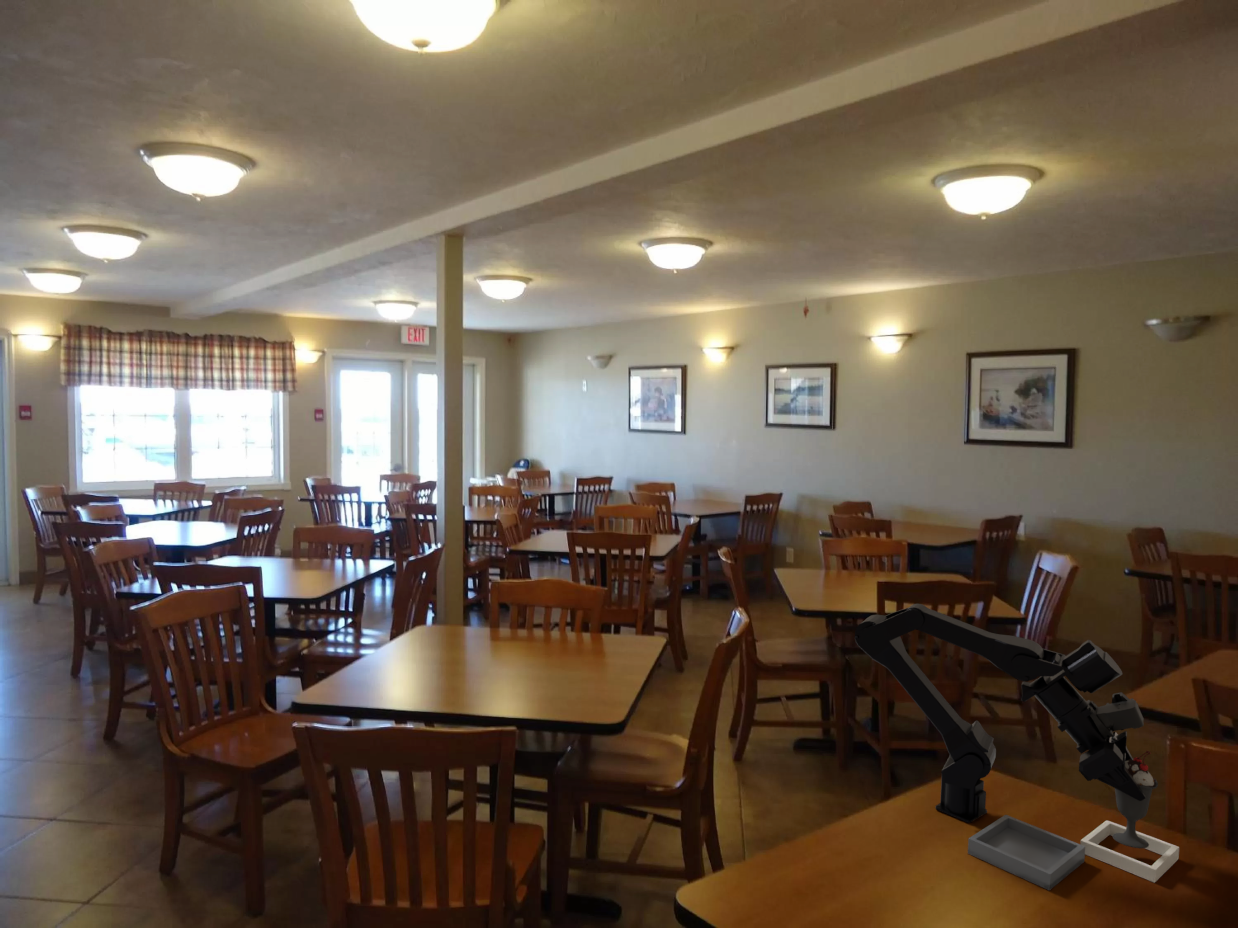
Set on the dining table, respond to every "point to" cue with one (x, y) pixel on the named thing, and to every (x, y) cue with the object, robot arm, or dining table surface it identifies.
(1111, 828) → the white square frame
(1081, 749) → the robot arm
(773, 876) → the dining table surface
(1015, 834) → the tray
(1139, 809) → the sundae
